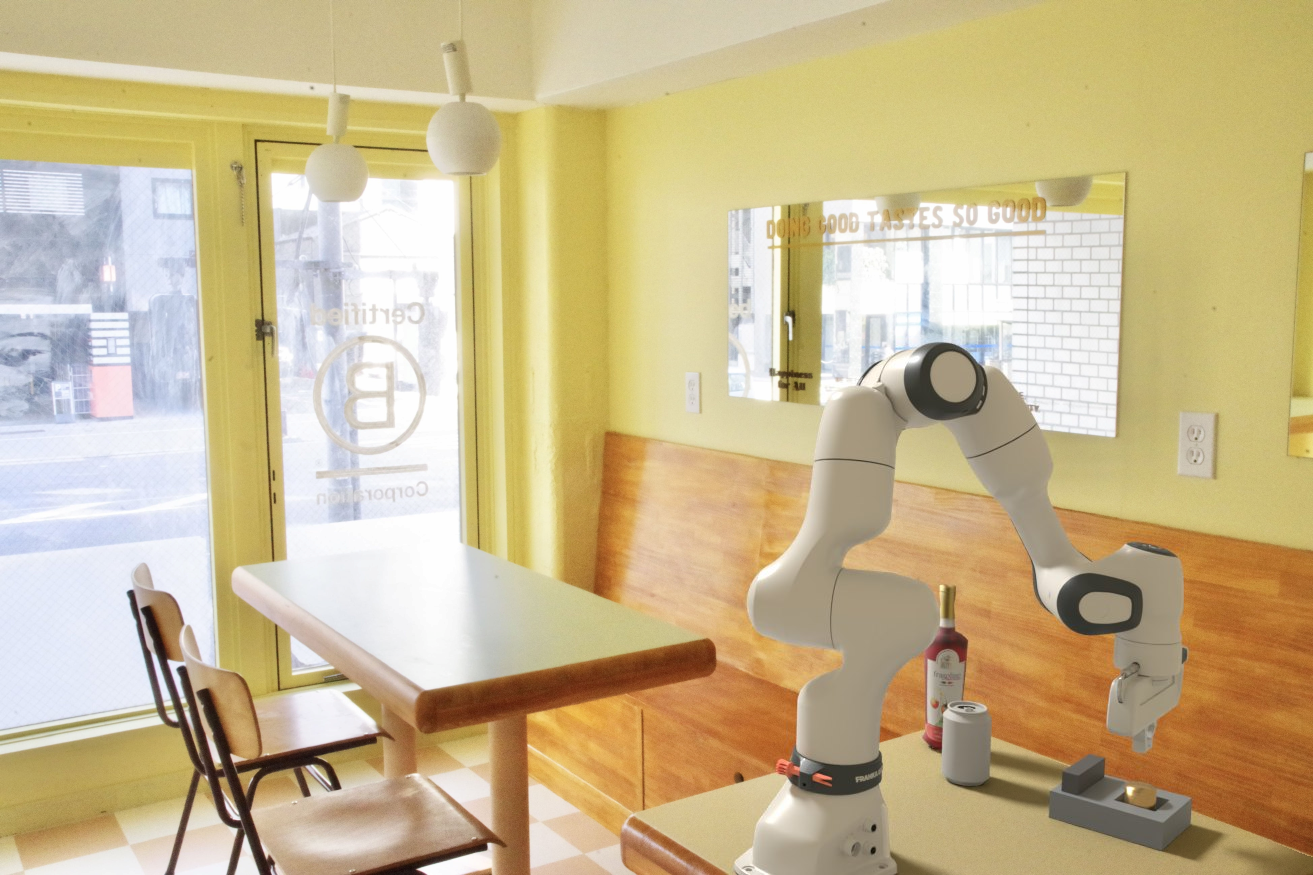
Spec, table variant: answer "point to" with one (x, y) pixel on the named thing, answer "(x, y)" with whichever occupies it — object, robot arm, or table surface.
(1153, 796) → the gold cylinder puck
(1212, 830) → the table surface
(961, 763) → the can
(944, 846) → the table surface
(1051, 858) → the table surface
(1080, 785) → the frame
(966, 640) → the liquor
